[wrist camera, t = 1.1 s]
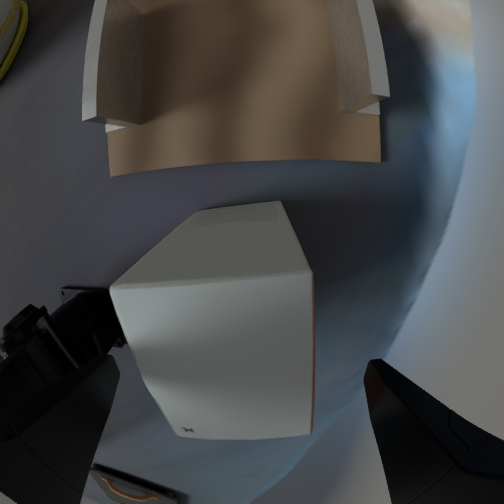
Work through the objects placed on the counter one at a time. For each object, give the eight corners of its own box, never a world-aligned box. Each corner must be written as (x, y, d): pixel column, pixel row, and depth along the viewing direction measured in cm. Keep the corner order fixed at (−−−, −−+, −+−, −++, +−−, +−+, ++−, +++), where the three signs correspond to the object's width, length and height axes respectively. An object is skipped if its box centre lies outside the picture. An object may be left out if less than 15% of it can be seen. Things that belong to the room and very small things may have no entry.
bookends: (108, 132, 17) (58, 129, 11) (113, 26, 14) (75, -1, 8) (377, 115, 16) (420, 102, 10) (360, 5, 13) (387, -32, 7)
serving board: (85, 453, 39) (76, 472, 33) (181, 488, 40) (176, 509, 34) (112, 494, 52) (108, 507, 46) (178, 515, 53) (175, 528, 47)
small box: (291, 298, 22) (313, 437, 9) (214, 304, 22) (173, 439, 10) (282, 197, 19) (316, 269, 7) (195, 208, 20) (100, 288, 7)
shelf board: (115, 175, 19) (110, 176, 18) (120, 2, 13) (117, -2, 13) (376, 162, 18) (380, 162, 17) (351, -18, 12) (354, -22, 12)
